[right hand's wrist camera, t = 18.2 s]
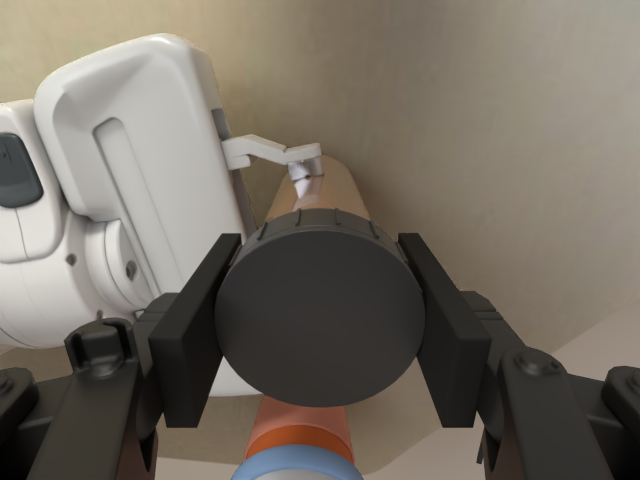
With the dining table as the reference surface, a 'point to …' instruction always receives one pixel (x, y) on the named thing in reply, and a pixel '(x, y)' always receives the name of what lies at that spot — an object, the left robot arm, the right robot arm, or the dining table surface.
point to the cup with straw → (298, 444)
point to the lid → (319, 309)
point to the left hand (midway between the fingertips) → (334, 218)
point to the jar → (319, 192)
